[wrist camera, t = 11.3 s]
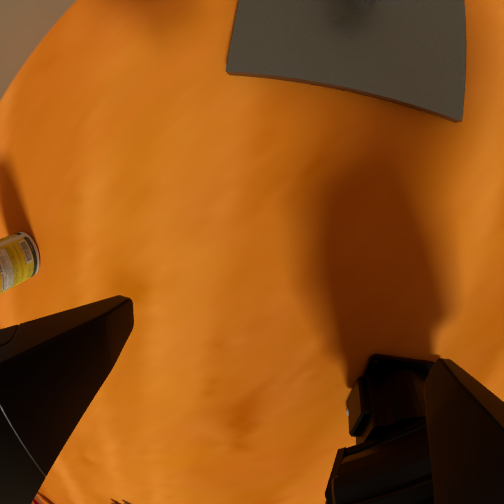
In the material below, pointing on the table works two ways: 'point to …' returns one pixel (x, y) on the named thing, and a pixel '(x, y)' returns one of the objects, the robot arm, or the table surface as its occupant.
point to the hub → (358, 48)
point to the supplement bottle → (17, 260)
